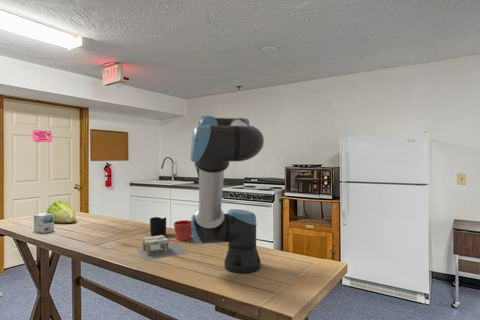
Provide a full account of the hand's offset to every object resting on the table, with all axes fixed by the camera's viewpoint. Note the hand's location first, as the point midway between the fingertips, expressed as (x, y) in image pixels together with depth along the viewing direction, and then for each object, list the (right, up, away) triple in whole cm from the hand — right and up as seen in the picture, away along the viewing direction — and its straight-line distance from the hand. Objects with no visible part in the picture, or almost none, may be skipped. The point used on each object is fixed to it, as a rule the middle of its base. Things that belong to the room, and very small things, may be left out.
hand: (207, 197), depth 143 cm
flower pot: (-16, -27, +22) cm, 38 cm away
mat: (-22, -27, +1) cm, 35 cm away
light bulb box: (-108, -27, +43) cm, 119 cm away
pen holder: (-33, -27, +32) cm, 53 cm away
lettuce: (-112, -27, +71) cm, 135 cm away
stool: (-21, -23, +3) cm, 31 cm away
